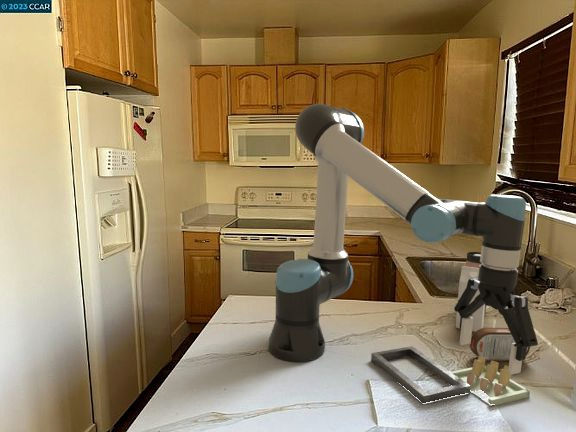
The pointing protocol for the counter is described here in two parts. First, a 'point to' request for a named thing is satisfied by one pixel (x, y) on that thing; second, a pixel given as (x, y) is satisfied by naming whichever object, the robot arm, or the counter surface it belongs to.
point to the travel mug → (474, 261)
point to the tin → (493, 343)
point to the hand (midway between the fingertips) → (487, 357)
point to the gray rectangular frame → (444, 374)
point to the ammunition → (489, 375)
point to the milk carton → (479, 314)
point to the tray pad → (506, 395)
